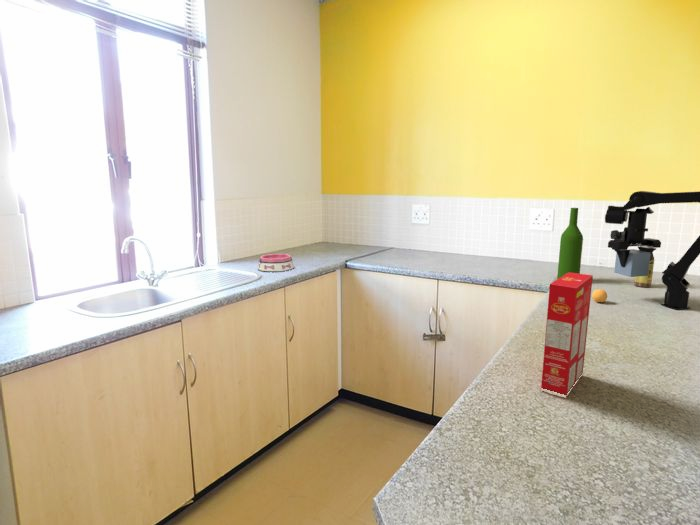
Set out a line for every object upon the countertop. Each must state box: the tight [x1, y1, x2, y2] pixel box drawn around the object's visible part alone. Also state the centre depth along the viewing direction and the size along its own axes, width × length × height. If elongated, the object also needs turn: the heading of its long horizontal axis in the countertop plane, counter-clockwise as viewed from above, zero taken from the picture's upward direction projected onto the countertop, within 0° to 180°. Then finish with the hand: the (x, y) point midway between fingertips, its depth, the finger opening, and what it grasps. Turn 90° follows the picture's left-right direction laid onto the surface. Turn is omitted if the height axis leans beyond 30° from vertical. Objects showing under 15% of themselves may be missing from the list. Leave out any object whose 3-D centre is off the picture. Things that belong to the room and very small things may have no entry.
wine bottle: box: [556, 207, 584, 280], centre depth 202 cm, size 9×9×32 cm
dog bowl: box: [257, 253, 295, 274], centre depth 234 cm, size 18×19×7 cm
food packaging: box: [540, 272, 593, 395], centre depth 105 cm, size 15×5×25 cm, turn 141°
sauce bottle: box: [633, 253, 655, 288], centre depth 193 cm, size 7×6×20 cm
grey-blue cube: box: [613, 248, 651, 278], centre depth 173 cm, size 8×8×9 cm
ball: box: [591, 288, 608, 303], centre depth 171 cm, size 5×5×5 cm
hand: (631, 266), depth 173 cm, fingers closed on grey-blue cube, 8 cm apart
